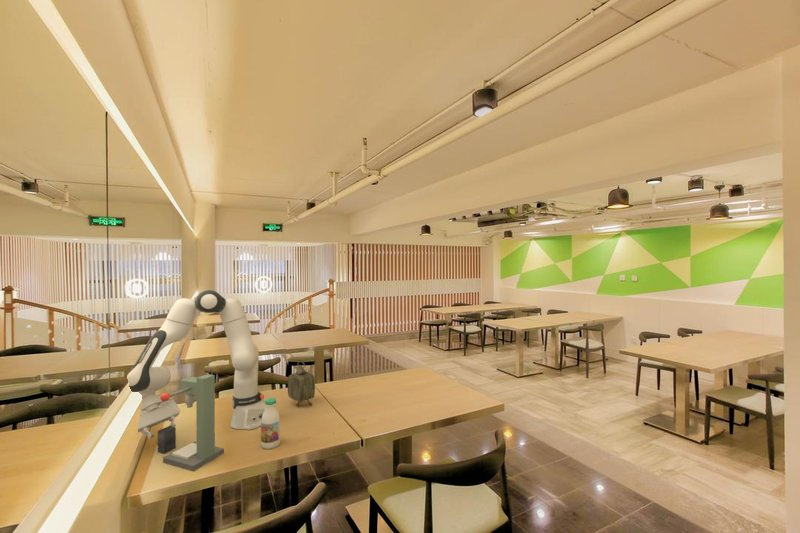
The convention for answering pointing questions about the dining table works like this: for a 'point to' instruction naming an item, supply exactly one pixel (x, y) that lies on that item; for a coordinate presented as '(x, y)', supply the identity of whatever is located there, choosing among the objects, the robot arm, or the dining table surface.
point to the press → (205, 419)
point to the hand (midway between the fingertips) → (162, 432)
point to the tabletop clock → (301, 385)
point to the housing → (166, 439)
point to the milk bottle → (270, 425)
